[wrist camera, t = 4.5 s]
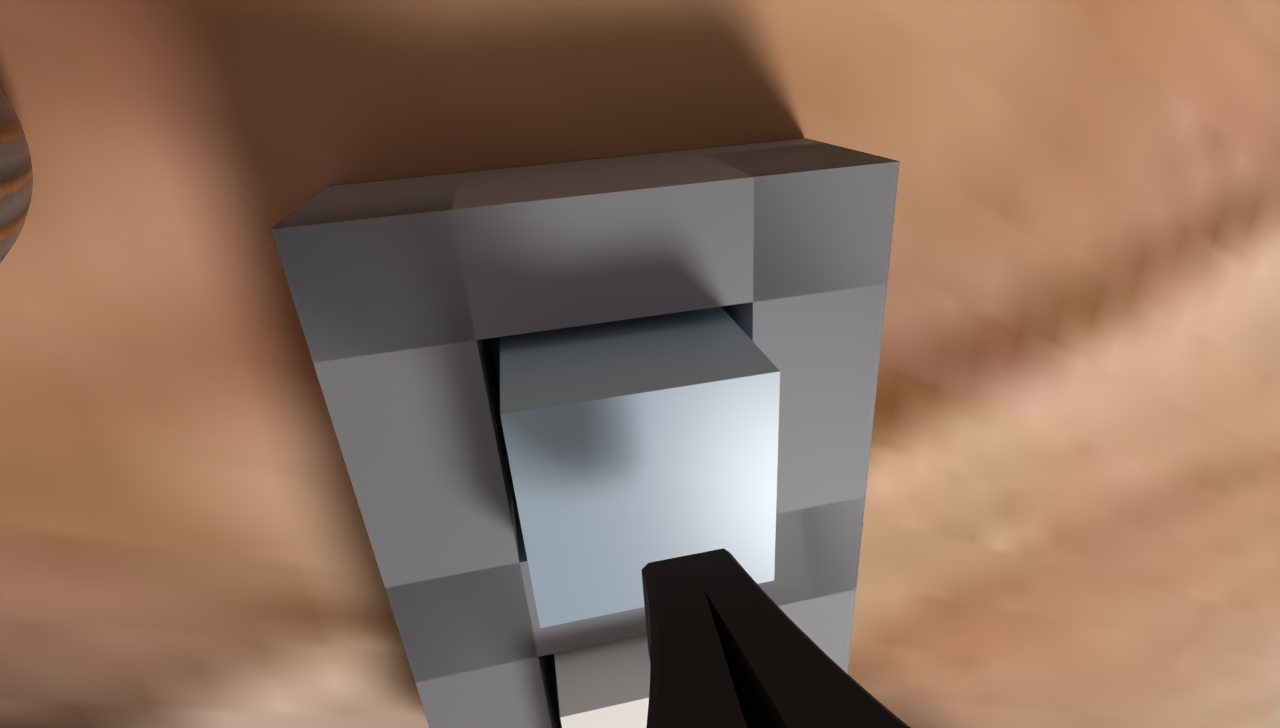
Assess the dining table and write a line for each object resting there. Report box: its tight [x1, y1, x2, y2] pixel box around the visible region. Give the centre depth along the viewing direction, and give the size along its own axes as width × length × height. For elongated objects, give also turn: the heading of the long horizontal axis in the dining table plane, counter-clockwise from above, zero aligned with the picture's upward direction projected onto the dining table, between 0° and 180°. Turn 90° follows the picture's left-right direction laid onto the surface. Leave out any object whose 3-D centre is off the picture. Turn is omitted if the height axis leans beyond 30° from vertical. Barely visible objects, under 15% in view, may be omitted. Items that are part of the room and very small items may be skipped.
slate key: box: [500, 307, 780, 628], centre depth 14 cm, size 5×5×4 cm
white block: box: [554, 634, 650, 728], centre depth 19 cm, size 5×5×4 cm
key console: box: [271, 138, 900, 728], centre depth 19 cm, size 20×12×4 cm, turn 4°
